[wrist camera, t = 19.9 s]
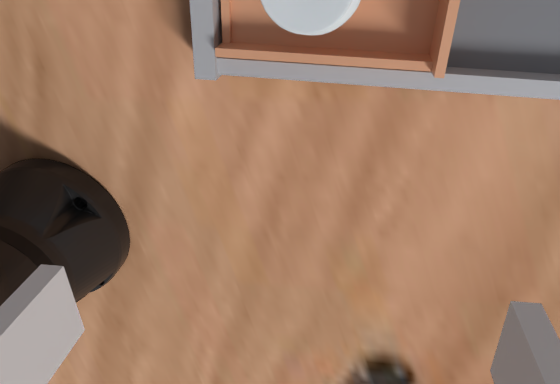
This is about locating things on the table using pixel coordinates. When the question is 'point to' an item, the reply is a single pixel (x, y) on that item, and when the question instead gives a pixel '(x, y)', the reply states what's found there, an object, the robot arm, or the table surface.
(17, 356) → the robot arm
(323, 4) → the pill bottle
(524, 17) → the bay
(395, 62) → the crate
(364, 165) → the table surface
